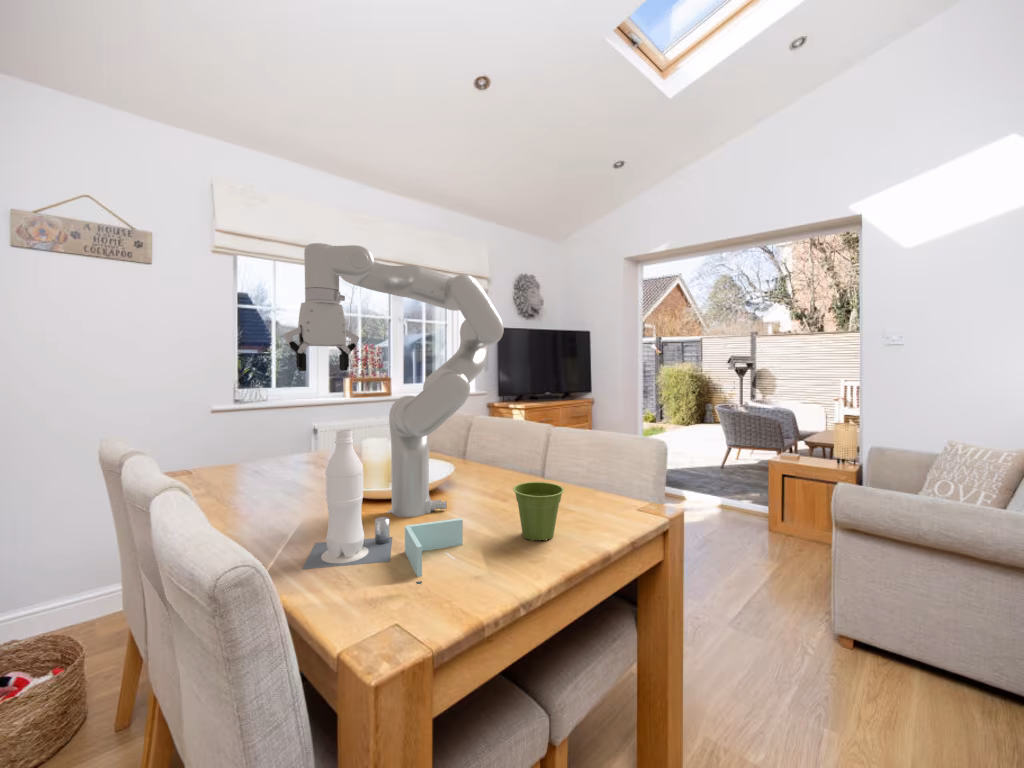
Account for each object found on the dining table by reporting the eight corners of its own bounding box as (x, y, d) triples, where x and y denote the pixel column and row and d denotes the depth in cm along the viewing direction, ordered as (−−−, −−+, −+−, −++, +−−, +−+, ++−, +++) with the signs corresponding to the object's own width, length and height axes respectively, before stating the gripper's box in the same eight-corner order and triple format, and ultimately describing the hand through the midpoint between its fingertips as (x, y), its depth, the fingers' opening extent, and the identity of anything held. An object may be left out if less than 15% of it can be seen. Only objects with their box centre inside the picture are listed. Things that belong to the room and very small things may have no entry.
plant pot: (505, 541, 104) (505, 492, 104) (523, 524, 115) (523, 479, 115) (555, 549, 100) (556, 498, 99) (569, 531, 111) (569, 484, 110)
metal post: (389, 538, 101) (389, 516, 101) (389, 543, 99) (389, 520, 98) (375, 539, 101) (375, 517, 101) (374, 545, 98) (374, 521, 98)
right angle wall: (417, 587, 84) (417, 547, 83) (404, 561, 95) (404, 525, 94) (479, 576, 88) (479, 537, 88) (461, 552, 99) (461, 518, 99)
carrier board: (392, 543, 103) (392, 536, 103) (390, 568, 90) (390, 560, 90) (315, 549, 99) (315, 542, 99) (302, 576, 86) (301, 568, 86)
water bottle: (371, 550, 95) (370, 429, 94) (342, 563, 89) (340, 434, 87) (348, 543, 98) (347, 427, 97) (318, 555, 92) (317, 431, 91)
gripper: (351, 303, 118) (352, 370, 118) (278, 296, 106) (279, 370, 107) (364, 300, 112) (365, 370, 113) (288, 292, 100) (290, 371, 101)
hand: (323, 370), depth 110 cm, fingers open, 9 cm apart
